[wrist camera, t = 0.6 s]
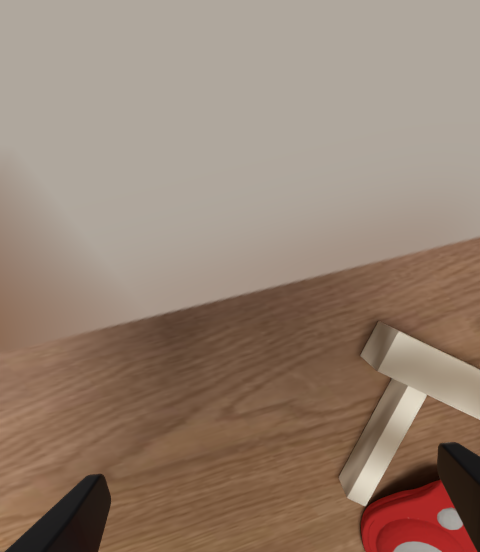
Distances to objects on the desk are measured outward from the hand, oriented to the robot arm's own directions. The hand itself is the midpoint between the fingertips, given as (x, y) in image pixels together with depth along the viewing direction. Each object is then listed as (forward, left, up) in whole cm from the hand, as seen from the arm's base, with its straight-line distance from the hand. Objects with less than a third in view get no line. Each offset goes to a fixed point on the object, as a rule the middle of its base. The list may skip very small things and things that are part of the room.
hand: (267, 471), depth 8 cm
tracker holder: (-10, -20, -16) cm, 27 cm away
